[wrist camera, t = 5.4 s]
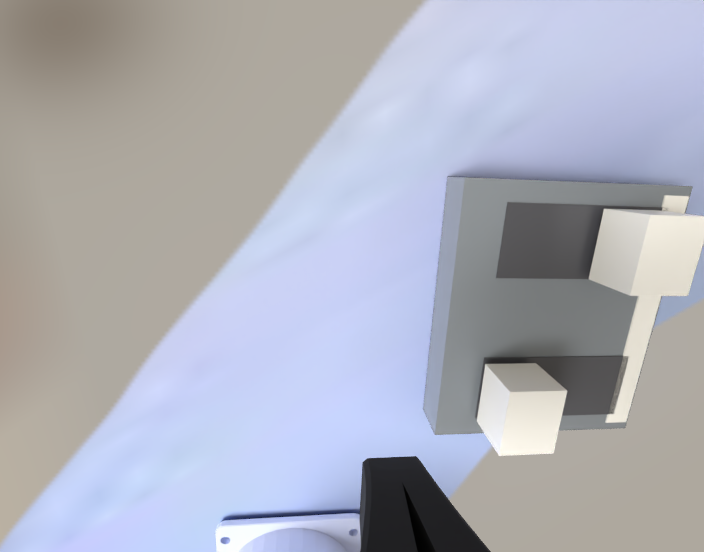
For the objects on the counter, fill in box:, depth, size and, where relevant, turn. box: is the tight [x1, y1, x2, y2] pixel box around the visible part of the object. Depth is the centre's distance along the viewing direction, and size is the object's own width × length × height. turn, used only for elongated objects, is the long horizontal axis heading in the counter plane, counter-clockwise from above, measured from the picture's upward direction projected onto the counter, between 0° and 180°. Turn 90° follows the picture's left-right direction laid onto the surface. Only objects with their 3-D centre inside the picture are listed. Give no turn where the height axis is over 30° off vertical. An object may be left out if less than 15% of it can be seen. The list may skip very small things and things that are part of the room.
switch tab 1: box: [477, 363, 567, 456], centre depth 16 cm, size 3×2×2 cm
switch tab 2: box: [589, 209, 704, 296], centre depth 15 cm, size 3×2×2 cm
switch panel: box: [423, 177, 692, 435], centre depth 18 cm, size 12×10×2 cm
